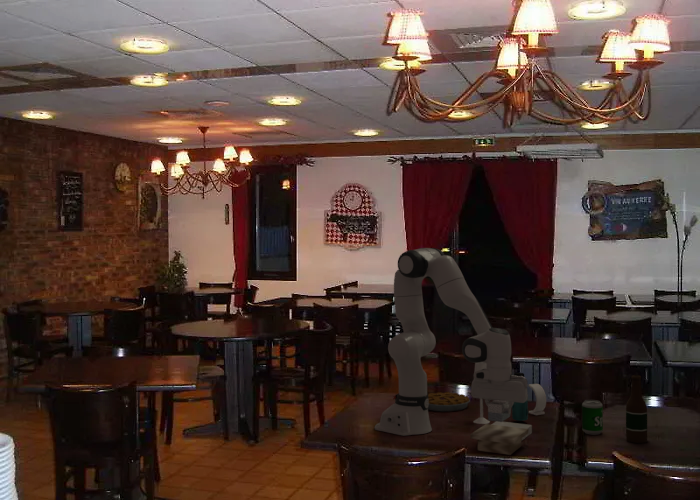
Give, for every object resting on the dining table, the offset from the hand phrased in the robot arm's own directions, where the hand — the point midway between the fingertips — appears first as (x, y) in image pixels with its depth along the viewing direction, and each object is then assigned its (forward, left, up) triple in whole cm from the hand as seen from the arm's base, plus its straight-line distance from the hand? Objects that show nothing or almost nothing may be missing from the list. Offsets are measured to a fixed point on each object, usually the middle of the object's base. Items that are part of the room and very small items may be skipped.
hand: (499, 412), depth 282 cm
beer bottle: (+41, +32, -13) cm, 54 cm away
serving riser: (0, 0, -13) cm, 13 cm away
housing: (0, 0, -2) cm, 2 cm away
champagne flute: (-19, +32, -13) cm, 39 cm away
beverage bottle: (-5, +38, -13) cm, 41 cm away
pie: (-43, +50, -13) cm, 67 cm away
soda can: (+24, +36, -13) cm, 45 cm away
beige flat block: (-3, +19, -13) cm, 23 cm away
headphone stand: (-3, +55, -13) cm, 57 cm away
